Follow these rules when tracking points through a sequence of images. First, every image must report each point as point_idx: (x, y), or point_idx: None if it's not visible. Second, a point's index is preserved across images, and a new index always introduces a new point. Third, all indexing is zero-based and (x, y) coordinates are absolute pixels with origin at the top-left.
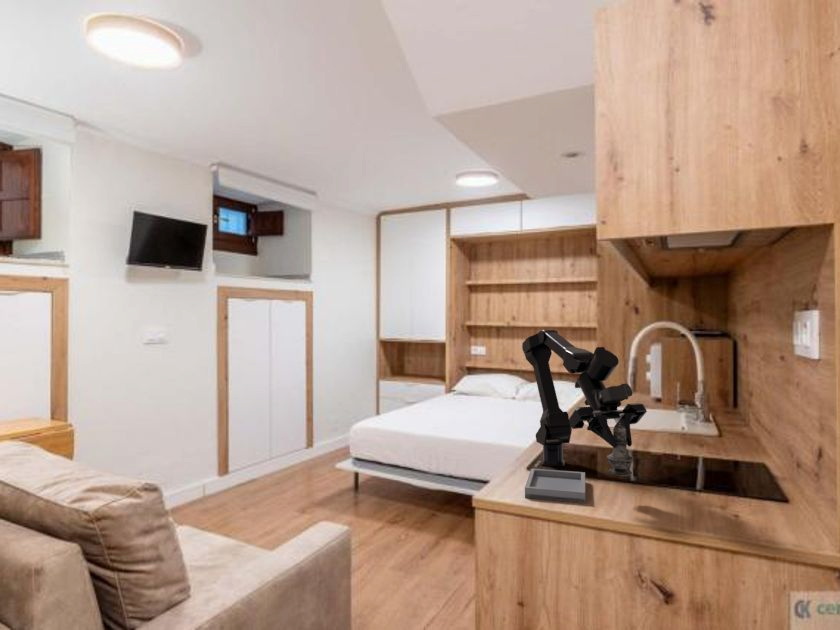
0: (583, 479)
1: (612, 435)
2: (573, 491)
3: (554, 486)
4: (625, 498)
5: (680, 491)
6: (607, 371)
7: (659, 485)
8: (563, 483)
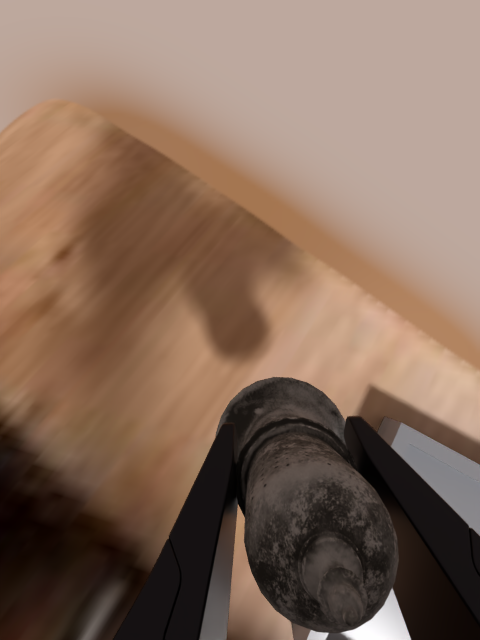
0: None
1: (400, 490)
2: (438, 444)
3: None
4: None
5: (52, 437)
6: None
7: (69, 507)
8: None
